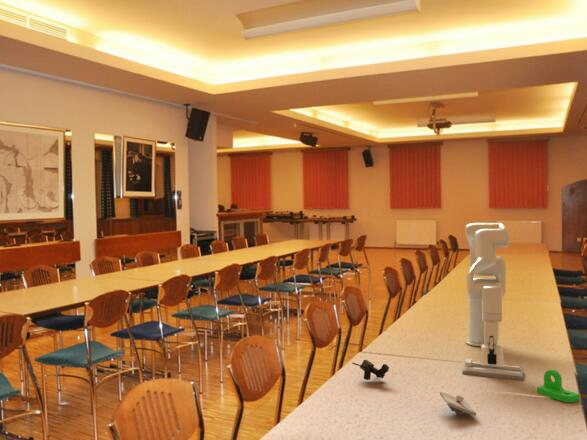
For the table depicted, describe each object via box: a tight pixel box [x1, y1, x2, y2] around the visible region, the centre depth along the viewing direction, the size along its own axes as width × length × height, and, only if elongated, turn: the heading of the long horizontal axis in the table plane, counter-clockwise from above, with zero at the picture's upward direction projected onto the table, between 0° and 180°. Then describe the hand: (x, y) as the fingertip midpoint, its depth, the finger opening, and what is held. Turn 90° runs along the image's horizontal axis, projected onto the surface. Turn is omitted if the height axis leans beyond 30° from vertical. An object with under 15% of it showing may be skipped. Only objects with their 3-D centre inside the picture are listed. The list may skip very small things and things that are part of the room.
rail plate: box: [461, 357, 524, 381], centre depth 208 cm, size 10×22×4 cm, turn 66°
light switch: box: [439, 391, 477, 417], centre depth 170 cm, size 9×10×5 cm
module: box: [480, 344, 504, 367], centre depth 208 cm, size 5×8×7 cm, turn 66°
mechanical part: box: [536, 369, 581, 403], centre depth 182 cm, size 12×6×8 cm, turn 31°
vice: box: [351, 359, 390, 381], centre depth 201 cm, size 18×9×11 cm
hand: (492, 361), depth 208 cm, fingers closed on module, 5 cm apart
